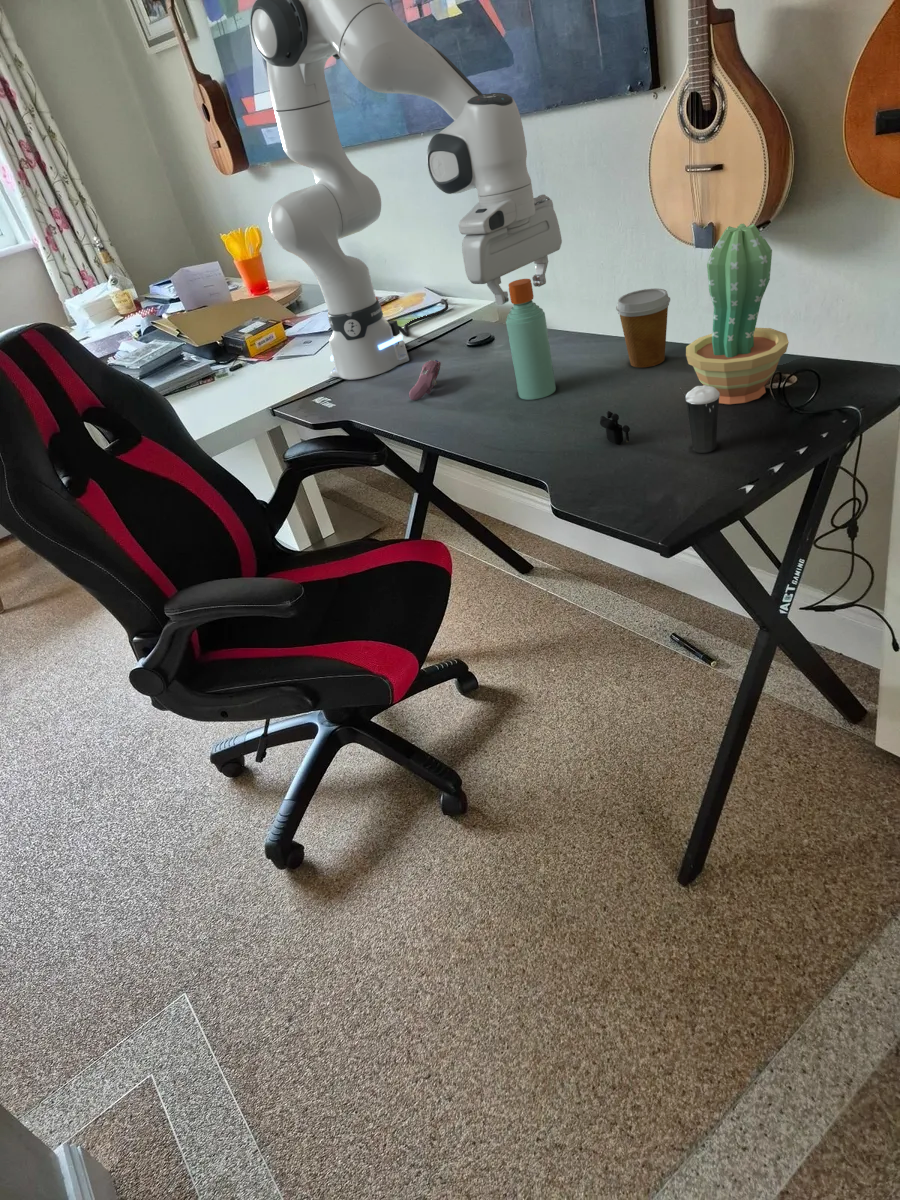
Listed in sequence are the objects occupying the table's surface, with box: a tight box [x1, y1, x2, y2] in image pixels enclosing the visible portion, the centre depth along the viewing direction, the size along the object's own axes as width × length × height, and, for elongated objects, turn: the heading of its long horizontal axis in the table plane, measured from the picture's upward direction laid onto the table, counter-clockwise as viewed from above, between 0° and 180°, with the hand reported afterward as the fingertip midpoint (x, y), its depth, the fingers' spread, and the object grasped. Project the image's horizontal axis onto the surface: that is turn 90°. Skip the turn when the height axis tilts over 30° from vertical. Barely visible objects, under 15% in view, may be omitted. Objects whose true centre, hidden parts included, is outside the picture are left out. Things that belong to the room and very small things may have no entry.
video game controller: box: [408, 359, 442, 401], centre depth 157 cm, size 10×5×7 cm, turn 168°
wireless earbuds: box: [599, 410, 631, 445], centre depth 119 cm, size 7×2×5 cm, turn 28°
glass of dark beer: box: [679, 384, 720, 454], centre depth 110 cm, size 4×5×10 cm
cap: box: [508, 278, 534, 304], centre depth 135 cm, size 4×4×3 cm
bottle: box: [505, 299, 557, 401], centre depth 140 cm, size 7×7×20 cm
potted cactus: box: [685, 223, 790, 405], centre depth 119 cm, size 15×15×25 cm
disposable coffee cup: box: [615, 288, 671, 369], centre depth 142 cm, size 10×10×12 cm
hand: (521, 294), depth 135 cm, fingers open, 8 cm apart
